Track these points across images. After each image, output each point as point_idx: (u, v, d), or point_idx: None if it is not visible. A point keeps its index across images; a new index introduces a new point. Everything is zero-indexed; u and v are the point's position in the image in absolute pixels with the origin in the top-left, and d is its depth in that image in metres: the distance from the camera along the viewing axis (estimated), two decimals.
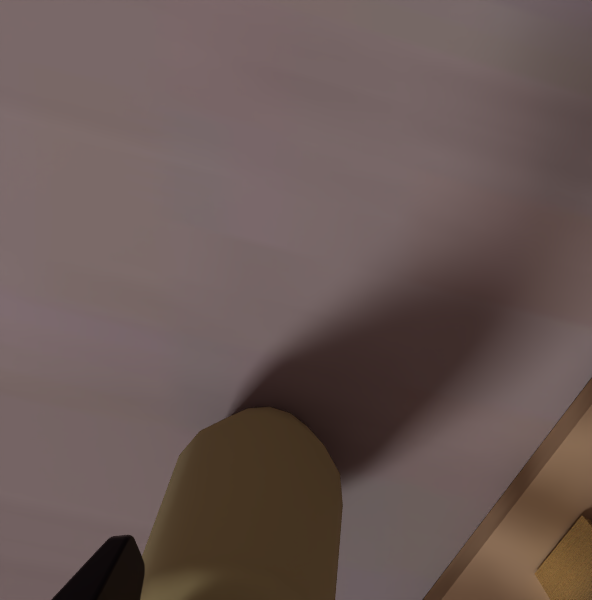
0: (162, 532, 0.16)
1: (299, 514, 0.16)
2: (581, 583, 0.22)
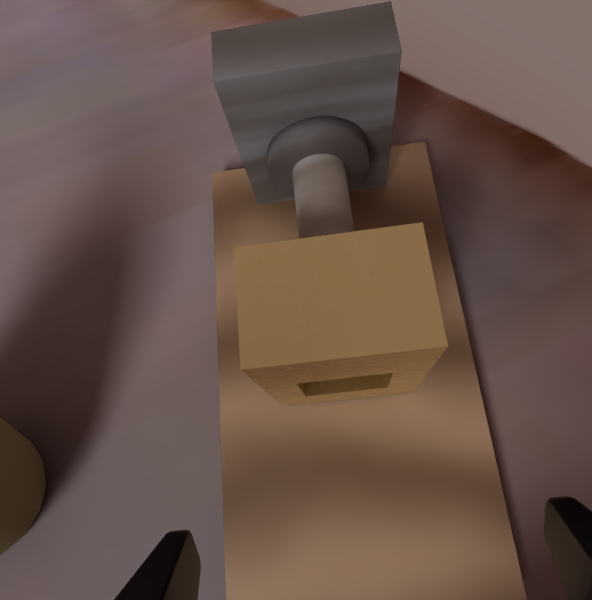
0: None
1: None
2: None
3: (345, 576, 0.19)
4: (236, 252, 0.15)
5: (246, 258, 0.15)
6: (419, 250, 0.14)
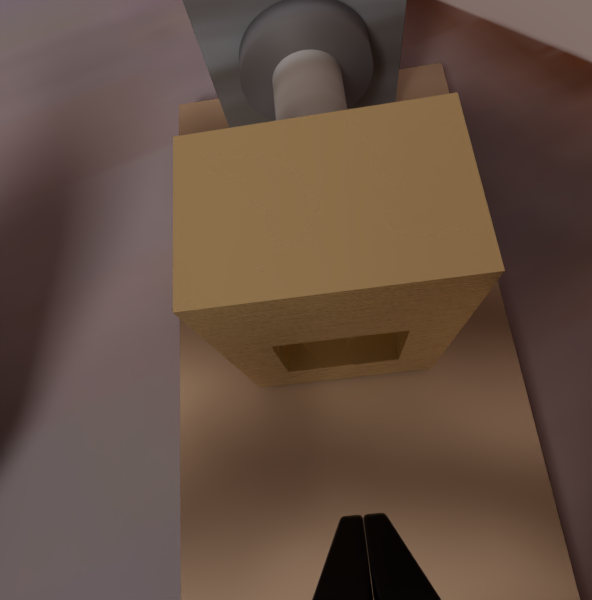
0: None
1: None
2: None
3: None
4: (175, 143, 0.10)
5: (190, 151, 0.10)
6: (453, 131, 0.09)
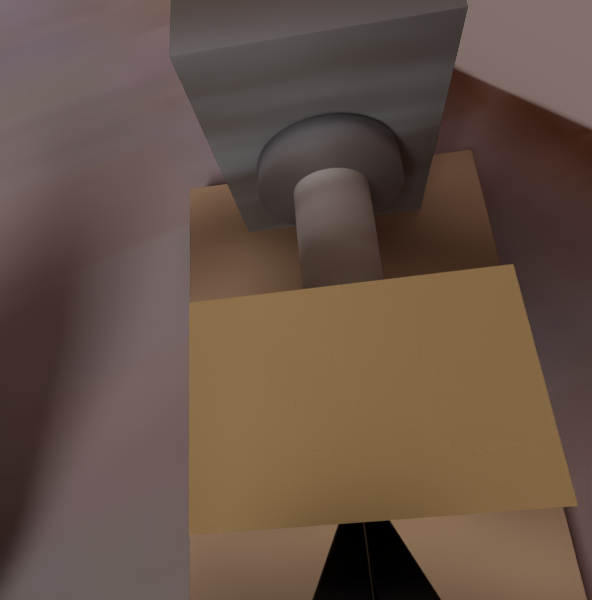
0: None
1: None
2: None
3: None
4: (192, 311, 0.09)
5: (208, 322, 0.09)
6: (510, 315, 0.08)
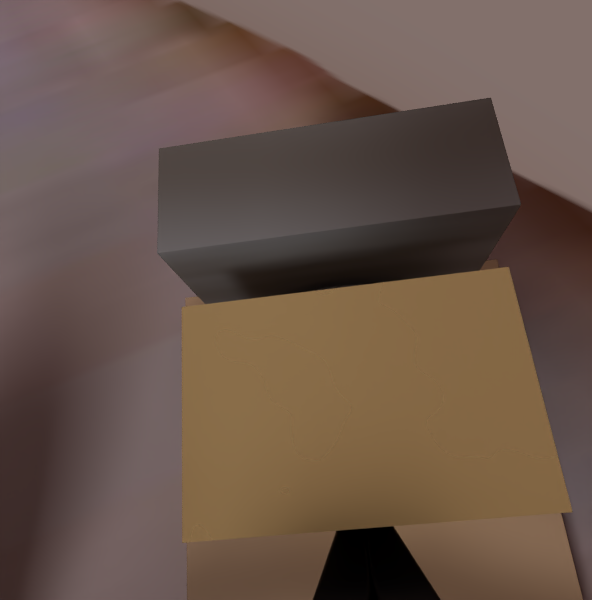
0: None
1: None
2: None
3: None
4: (185, 316, 0.09)
5: (201, 327, 0.09)
6: (506, 319, 0.08)
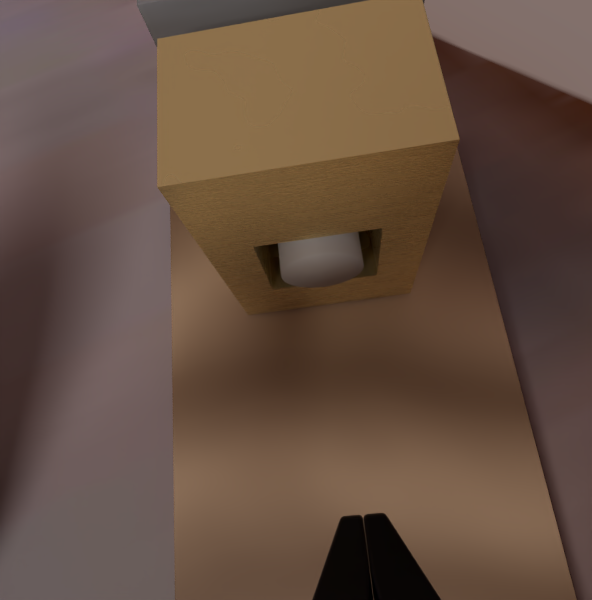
0: None
1: None
2: None
3: None
4: (159, 44, 0.11)
5: (173, 50, 0.11)
6: (415, 24, 0.10)
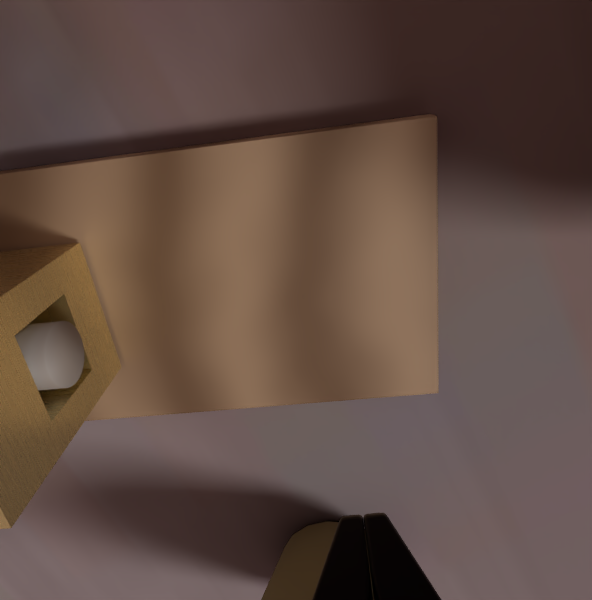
0: None
1: None
2: None
3: (404, 296, 0.20)
4: None
5: None
6: None
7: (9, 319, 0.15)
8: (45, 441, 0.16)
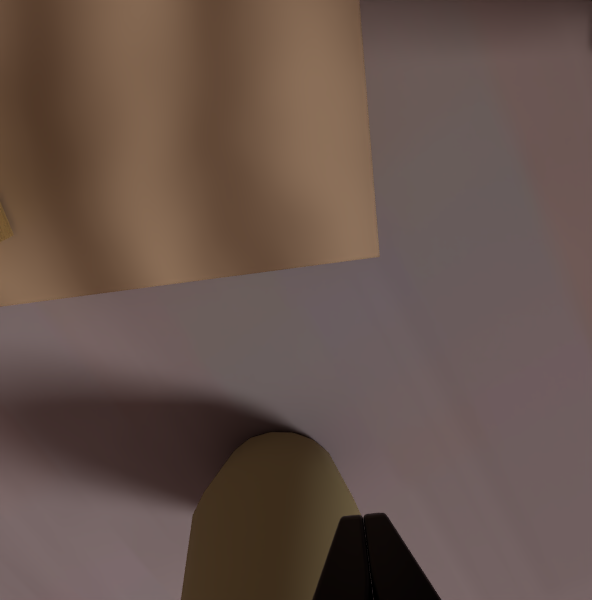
0: None
1: None
2: None
3: (330, 131, 0.17)
4: None
5: None
6: None
7: None
8: None
